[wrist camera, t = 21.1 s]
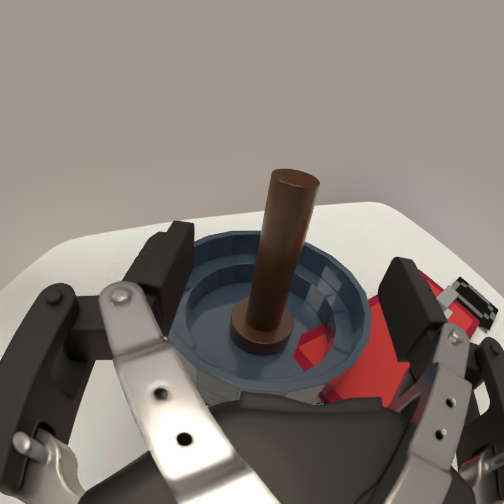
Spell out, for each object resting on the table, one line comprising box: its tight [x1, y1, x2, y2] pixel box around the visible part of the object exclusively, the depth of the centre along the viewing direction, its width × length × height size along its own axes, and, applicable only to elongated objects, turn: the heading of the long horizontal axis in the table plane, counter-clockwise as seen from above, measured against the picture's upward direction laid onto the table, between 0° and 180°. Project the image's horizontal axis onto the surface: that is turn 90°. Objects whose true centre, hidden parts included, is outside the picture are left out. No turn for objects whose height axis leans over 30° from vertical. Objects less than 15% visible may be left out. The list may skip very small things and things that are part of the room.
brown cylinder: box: [230, 169, 320, 356], centre depth 18 cm, size 5×5×13 cm
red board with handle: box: [293, 270, 498, 407], centre depth 23 cm, size 30×3×15 cm
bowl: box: [164, 231, 372, 406], centre depth 20 cm, size 15×15×5 cm
